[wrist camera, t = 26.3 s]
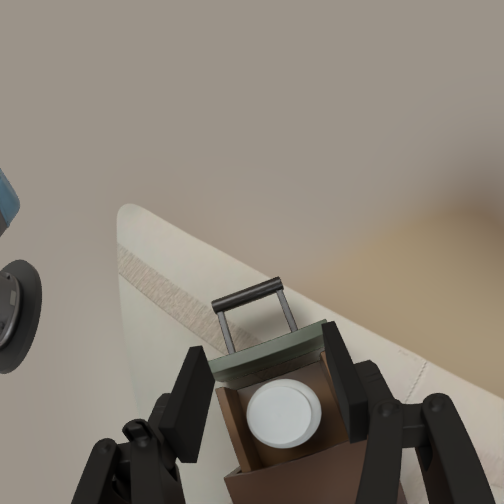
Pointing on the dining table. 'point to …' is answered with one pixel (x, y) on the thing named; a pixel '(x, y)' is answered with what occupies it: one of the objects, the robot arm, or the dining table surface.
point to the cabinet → (305, 479)
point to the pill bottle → (284, 413)
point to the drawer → (264, 356)
